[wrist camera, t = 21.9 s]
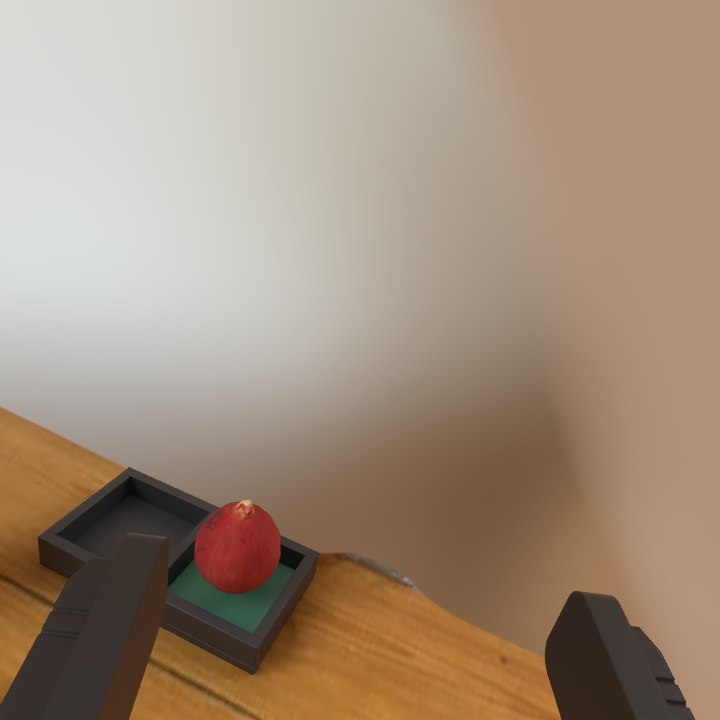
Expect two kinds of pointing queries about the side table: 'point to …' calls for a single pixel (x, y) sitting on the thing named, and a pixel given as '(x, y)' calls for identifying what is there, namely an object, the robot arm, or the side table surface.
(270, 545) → the onion
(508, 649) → the side table surface
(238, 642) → the tray
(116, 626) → the robot arm
